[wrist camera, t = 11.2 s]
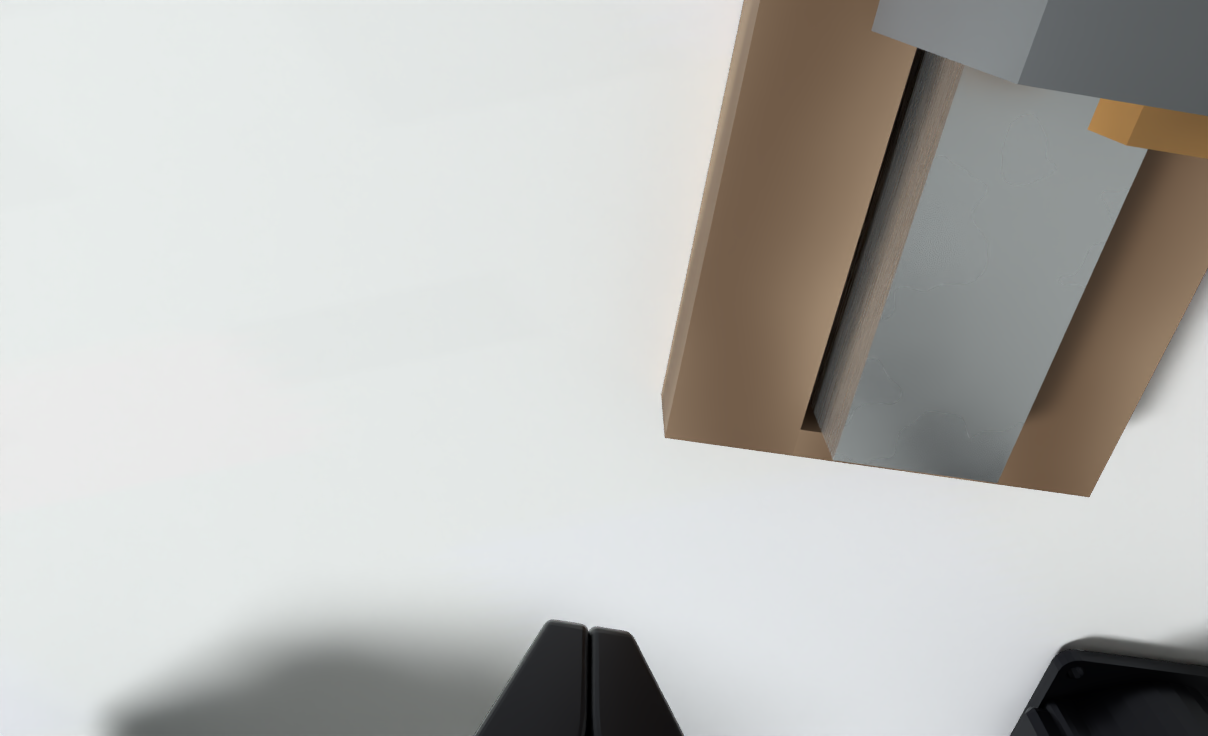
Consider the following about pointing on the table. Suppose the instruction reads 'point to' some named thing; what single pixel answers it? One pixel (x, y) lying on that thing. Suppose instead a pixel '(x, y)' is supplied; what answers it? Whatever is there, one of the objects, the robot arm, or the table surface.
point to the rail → (966, 270)
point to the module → (1081, 57)
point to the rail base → (829, 238)
